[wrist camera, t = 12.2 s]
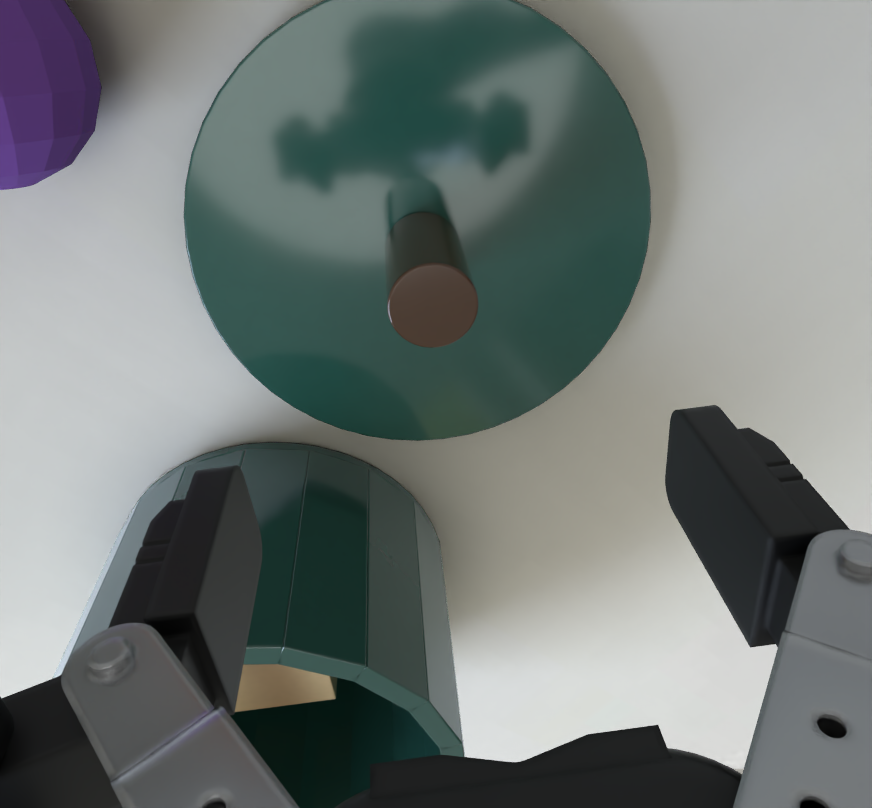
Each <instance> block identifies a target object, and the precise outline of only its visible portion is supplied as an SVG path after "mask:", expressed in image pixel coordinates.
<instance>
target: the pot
mask: <svg viewBox="0 0 872 808" xmlns="http://www.w3.org/2000/svg"><path fill="white" fill-rule="evenodd" d="M233 465H238V466H239V467H240V468H241V470H242V472H243V475H244V478H245V482H246V485H247V488H248V492H249V495H250V498H251V502H252V505H253V508H254V512H255V515H256V518H257V522H258V525H259V529H260V533H261V540H262V564H261V569H260V575H259V580H258V586H257V591H256V597H255V602H254V608H253V613H252V619H251V624H250V630H249V635H248V641H247V646H246V652H245V658H244V663H243V665H262V664H279V665H283V666H287V667H292V668H296V669H301V670H305V671H309V672H314V673H318V674H323V675H327V676H332V677H336V678H337V689H336V699H331V700H324V701H316V702H308V703H301V704H293V705H286V706H278V707H270V708H263V709H255V710H247V711H240V712H235V713H234V715H230V716H231V718H232V719H233V720H234V722H235V723H236V724H237V726H238V727H239V728H240V730H241V731H242V732H243V734H244V735H245V736H246V738H247V739H248V740H249V741H250V743H251V744H252V745H253V747H254V748H255V749H256V751H257V752H258V753H259V755H260V756H261V757H262V759H263V760H264V761H265V763H266V764H267V765H268V767H269V768H270V769H271V771H272V772H273V773H274V775H275V776H276V777H277V779H278V780H279V781H280V783H281V784H282V785H283V786H284V788H285V789H286V790H287V792H288V793H289V794H290V796H291V797H292V798H293V800H294V801H295V802H296V804H297V805H298V806H299V808H335V807H336V806H338V805H339V804H341V803H342V802H344V801H345V800H347V799H349V798H351V797H353V796H354V795H356V794H358V793H360V792H362V791H365V790H367V789H370V764H375V763H383V762H390V761H397V760H405V759H412V758H419V757H427V756H434V755H450V756H459V757H465V752H464V743H463V735H462V726H461V718H460V709H459V701H458V692H457V683H456V675H455V666H454V658H453V649H452V641H451V632H450V624H449V615H448V606H447V598H446V589H445V581H444V573H443V565H442V557H441V549H440V541H439V539H438V537H437V535H436V533H435V530H434V528H433V525H432V523H431V521H430V520H429V518H428V516H427V515H426V513H425V511H424V510H423V508H422V507H421V506H420V505H419V504H418V502H417V501H416V500H415V499H414V498H413V496H412V495H411V494H410V493H409V492H408V491H406V490H405V489H404V488H403V487H402V486H401V485H400V484H399V483H398V482H396V481H395V480H394V479H392V478H391V477H389V476H388V475H386V474H385V473H383V472H382V471H380V470H379V469H377V468H375V467H373V466H371V465H369V464H367V463H365V462H363V461H361V460H359V459H356V458H354V457H351V456H348V455H346V454H343V453H341V452H337V451H333V450H329V449H325V448H321V447H317V446H310V445H304V444H297V443H276V442H268V443H254V444H245V445H239V446H234V447H228V448H224V449H220V450H217V451H214V452H210V453H207V454H204V455H201V456H199V457H197V458H195V459H192V460H190V461H188V462H186V463H183V464H182V465H180V466H179V467H177V468H175V469H174V470H172V471H170V472H169V473H167V474H165V475H164V476H163V477H162V478H161V479H159V480H158V481H157V482H156V483H155V484H153V485H152V486H151V487H150V488H149V489H148V490H147V491H146V492H145V494H144V495H143V496H142V497H141V498H140V499H139V500H138V502H137V503H136V505H135V507H134V508H133V510H132V511H131V513H130V514H129V516H128V519H127V521H126V523H125V524H124V526H123V528H122V529H121V531H120V533H119V534H118V536H117V538H116V540H115V542H114V545H113V547H112V549H111V551H110V553H109V556H108V558H107V560H106V562H105V564H104V567H103V569H102V571H101V573H100V575H99V577H98V580H97V582H96V584H95V586H94V588H93V591H92V593H91V595H90V597H89V599H88V602H87V604H86V606H85V608H84V610H83V612H82V615H81V617H80V619H79V621H78V623H77V626H76V628H75V630H74V632H73V634H72V637H71V639H70V641H69V643H68V645H67V647H66V650H65V652H64V654H63V656H62V658H61V661H60V663H59V665H58V667H57V669H56V672H55V674H54V676H53V678H56V677H58V676H60V675H62V672H63V669H64V667H65V665H66V663H67V661H68V659H69V658H70V657H71V655H72V654H73V653H74V652H75V651H76V650H77V649H78V648H79V647H80V646H81V645H82V644H83V643H84V642H85V641H87V640H88V639H89V638H91V637H92V636H94V635H95V634H97V633H99V632H101V631H103V630H105V629H108V627H109V625H110V622H111V619H112V617H113V614H114V612H115V609H116V607H117V604H118V602H119V599H120V597H121V594H122V592H123V589H124V587H125V584H126V582H127V579H128V577H129V574H130V572H131V569H132V567H133V565H135V559H136V557H137V554H138V552H139V549H140V547H142V542H143V539H144V537H145V534H146V532H147V529H148V527H149V524H150V522H151V520H152V519H153V518H154V517H155V516H156V515H157V514H158V513H159V512H160V511H161V510H162V509H163V508H164V507H165V506H166V504H167V503H168V502H169V501H174V500H182V499H185V498H186V495H187V492H188V489H189V486H190V484H191V481H192V478H193V475H194V473H195V472H196V471H197V470H202V469H210V468H218V467H226V466H233ZM53 678H52V679H53ZM121 808H123V807H121Z"/></svg>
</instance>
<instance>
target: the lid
mask: <svg viewBox="0 0 872 808" xmlns="http://www.w3.org/2000/svg"><path fill="white" fill-rule="evenodd" d="M650 222H651V196H650V184H649V177H648V170H647V163H646V158H645V155H644V151H643V148H642V144H641V141H640V137H639V134H638V131H637V128H636V126H635V124H634V122H633V119H632V117H631V115H630V113H629V110H628V108H627V106H626V103H625V101H624V100H623V98H622V97H621V95H620V93H619V92H618V90H617V89H616V87H615V85H614V84H613V82H612V81H611V79H610V77H609V76H608V74H607V73H606V72H605V71H604V70H603V68H602V67H601V66H600V65H599V64H598V63H597V61H596V60H595V59H594V58H593V57H592V55H591V54H590V53H589V52H588V51H587V50H586V49H585V48H584V47H583V46H582V45H581V44H580V43H579V42H577V41H576V40H575V39H574V38H573V37H572V36H571V35H569V34H568V33H567V32H566V31H565V30H564V29H563V28H561V27H560V26H559V25H557V24H555V23H554V22H552V21H551V20H549V19H548V18H546V17H545V16H543V15H541V14H540V13H538V12H537V11H535V10H534V9H532V8H530V7H528V6H526V5H523V4H521V3H519V2H517V1H514V0H324V1H322V2H320V3H318V4H316V5H314V6H313V7H311V8H309V9H307V10H305V11H303V12H301V13H300V14H298V15H296V16H294V17H292V18H291V19H289V20H288V21H287V22H285V23H284V24H283V25H281V26H280V27H279V28H277V29H276V30H275V31H273V32H272V33H271V34H269V35H268V36H267V37H265V38H264V39H263V40H262V41H261V42H260V43H259V44H258V45H257V46H256V47H255V48H254V49H253V50H252V51H251V52H250V53H249V54H248V55H247V56H246V57H245V58H244V59H243V60H242V61H241V62H240V63H239V64H238V66H237V67H236V68H235V70H234V71H233V73H232V74H231V75H230V77H229V78H228V79H227V81H226V82H225V84H224V85H223V86H222V88H221V89H220V90H219V92H218V94H217V95H216V97H215V99H214V101H213V103H212V105H211V107H210V109H209V111H208V113H207V115H206V116H205V118H204V120H203V122H202V125H201V128H200V131H199V134H198V137H197V139H196V142H195V145H194V148H193V151H192V154H191V159H190V164H189V169H188V174H187V179H186V185H185V202H184V226H185V238H186V248H187V252H188V257H189V261H190V266H191V271H192V275H193V278H194V281H195V284H196V286H197V289H198V292H199V295H200V297H201V300H202V303H203V305H204V307H205V309H206V311H207V313H208V315H209V317H210V319H211V321H212V322H213V324H214V326H215V328H216V330H217V331H218V333H219V334H220V336H221V337H222V339H223V340H224V342H225V343H226V344H227V346H228V347H229V349H230V350H231V352H232V353H233V354H234V355H235V356H236V358H237V359H238V360H239V361H240V362H241V363H242V364H243V365H244V367H245V368H246V369H247V370H248V371H249V372H250V373H251V374H252V375H253V376H254V377H255V378H256V379H257V380H259V381H260V382H261V383H262V384H263V385H264V386H265V387H267V388H268V389H269V390H270V391H271V392H273V393H274V394H275V395H277V396H278V397H280V398H281V399H283V400H284V401H286V402H287V403H288V404H290V405H291V406H293V407H295V408H296V409H298V410H300V411H302V412H304V413H306V414H308V415H310V416H312V417H313V418H315V419H317V420H320V421H322V422H325V423H328V424H330V425H333V426H335V427H338V428H340V429H344V430H347V431H351V432H355V433H359V434H362V435H366V436H372V437H379V438H385V439H392V440H416V441H420V440H434V439H446V438H451V437H457V436H462V435H468V434H472V433H475V432H479V431H482V430H486V429H489V428H492V427H495V426H498V425H500V424H502V423H505V422H507V421H510V420H512V419H514V418H517V417H519V416H521V415H523V414H524V413H526V412H528V411H530V410H532V409H534V408H535V407H537V406H539V405H541V404H542V403H544V402H545V401H547V400H548V399H549V398H551V397H552V396H554V395H555V394H556V393H558V392H559V391H561V390H562V389H563V388H564V387H566V386H567V385H568V384H569V383H570V382H571V381H572V380H573V379H575V378H576V377H577V376H578V375H579V374H580V373H581V372H582V371H583V370H584V369H585V368H586V367H587V366H588V365H589V364H590V363H591V361H592V360H593V359H594V358H595V357H596V356H597V355H598V354H599V352H600V351H601V350H602V349H603V347H604V346H605V344H606V343H607V341H608V340H609V339H610V337H611V336H612V334H613V333H614V332H615V330H616V329H617V327H618V325H619V323H620V321H621V319H622V318H623V316H624V314H625V312H626V310H627V308H628V306H629V305H630V302H631V299H632V297H633V294H634V292H635V289H636V287H637V284H638V282H639V279H640V276H641V272H642V268H643V264H644V260H645V256H646V252H647V246H648V238H649V230H650Z"/></svg>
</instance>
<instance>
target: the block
mask: <svg viewBox="0 0 872 808" xmlns="http://www.w3.org/2000/svg"><path fill="white" fill-rule="evenodd" d="M336 689H337V678H336V677H332V676H327V675H323V674H318V673H314V672H309V671H305V670H301V669H296V668H292V667H287V666H283V665H279V664H262V665H243V669H242V674H241V680H240V685H239V691H238V696H237V702H236V707H235V712H240V711H247V710H255V709H263V708H270V707H278V706H286V705H293V704H301V703H308V702H316V701H324V700H331V699H336Z"/></svg>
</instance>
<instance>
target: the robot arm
mask: <svg viewBox="0 0 872 808" xmlns="http://www.w3.org/2000/svg"><path fill="white" fill-rule="evenodd" d="M665 483H666V492H667V497H668V500H669V503H670V506H671V509H672V511H673V512H674V514H675V516H676V518H677V519H678V521H679V523H680V525H681V526H682V528H683V530H684V532H685V533H686V535H687V537H688V539H689V541H690V542H691V544H692V546H693V548H694V549H695V551H696V553H697V555H698V556H699V558H700V560H701V562H702V563H703V565H704V567H705V569H706V570H707V572H708V574H709V576H710V577H711V579H712V581H713V583H714V584H715V586H716V588H717V590H718V591H719V593H720V595H721V597H722V598H723V600H724V602H725V604H726V605H727V607H728V609H729V611H730V612H731V614H732V616H733V618H734V619H735V621H736V623H737V625H738V626H739V628H740V630H741V632H742V633H743V635H744V637H745V639H746V641H747V642H748V644H749V646H750V647H756V646H764V645H771V644H776V645H777V647H778V650H777V653H776V657H775V660H774V664H773V668H772V671H771V675H770V678H769V682H768V685H767V689H766V692H765V696H764V699H763V703H762V707H761V710H760V714H759V717H758V721H757V724H756V728H755V731H754V735H753V739H752V742H751V746H750V749H749V753H748V756H747V760H746V763H745V767H744V770H743V774H740V773H738V772H737V771H735V770H734V769H732V768H730V767H728V766H726V765H723V764H721V763H719V762H717V761H715V760H712V759H709V758H706V757H704V756H701V755H698V754H695V753H690V752H686V751H682V750H677V749H669V748H667V747H666V744H665V741H664V739H663V736H662V734H661V731H660V729H659V726H658V725H654V726H647V727H639V728H632V729H625V730H617V731H610V732H603V733H595V734H588V735H585V736H583V737H581V738H578V739H576V740H573V741H571V742H568V743H566V744H564V745H561V746H559V747H556V748H554V749H551V750H549V751H547V752H544V753H542V754H539V755H537V756H535V757H532V758H530V759H527V760H525V761H521V762H503V761H494V760H485V759H476V758H467V757H459V756H450V755H434V756H427V757H419V758H412V759H405V760H397V761H390V762H383V763H375V764H370V789H367V790H365V791H362V792H360V793H358V794H356V795H354V796H353V797H351V798H349V799H347V800H345V801H344V802H342V803H341V804H339V805H338V806H336V807H335V808H872V534H869V533H865V532H860V531H855V530H850V529H849V528H848V527H847V526H846V524H845V523H844V522H843V521H842V520H841V519H840V518H839V516H838V515H837V514H836V513H835V512H834V511H833V509H832V508H831V507H830V506H829V505H828V504H827V503H826V501H825V500H824V499H823V498H822V497H821V496H820V495H819V493H818V492H817V491H816V490H815V489H814V488H813V487H812V485H811V484H810V483H809V482H808V481H807V480H806V479H803V475H802V474H801V473H800V472H799V470H798V469H797V468H796V467H795V466H794V465H793V464H790V460H789V459H788V458H787V457H786V456H785V454H784V453H783V452H782V451H781V450H780V449H779V448H778V446H777V445H776V444H775V443H774V442H773V441H771V440H769V439H767V438H766V437H764V436H762V435H760V434H759V433H757V432H755V431H754V430H752V429H750V428H744V429H737V428H736V427H735V426H734V425H733V423H732V422H731V421H730V420H729V418H728V417H727V416H726V415H725V413H724V412H723V411H722V410H721V409H720V408H719V407H718V406H716V405H712V406H704V407H696V408H688V409H681V410H675V411H674V412H673V413H672V415H671V420H670V429H669V441H668V452H667V464H666V475H665ZM261 564H262V540H261V533H260V529H259V525H258V522H257V518H256V515H255V512H254V508H253V505H252V502H251V498H250V495H249V492H248V488H247V485H246V482H245V478H244V475H243V472H242V470H241V468H240V467H239V466H238V465H233V466H226V467H218V468H210V469H202V470H197V471H196V472H195V473H194V475H193V478H192V481H191V484H190V486H189V489H188V492H187V495H186V498H185V499H182V500H174V501H169V502H168V503H167V504H166V506H165V507H164V508H163V509H162V510H161V511H160V512H159V513H158V514H157V515H156V516H155V517H154V518H153V519H152V520H151V522H150V524H149V527H148V529H147V532H146V534H145V537H144V539H143V542H142V547H140V549H139V552H138V554H137V557H136V559H135V565H133V567H132V569H131V572H130V574H129V577H128V579H127V582H126V584H125V587H124V589H123V592H122V594H121V597H120V599H119V602H118V604H117V607H116V609H115V612H114V614H113V617H112V619H111V622H110V625H109V627H108V629H105V630H103V631H101V632H99V633H97V634H95V635H94V636H92V637H91V638H89V639H88V640H87V641H85V642H84V643H83V644H82V645H81V646H80V647H79V648H78V649H77V650H76V651H75V652H74V653H73V654H72V655H71V657H70V658H69V659H68V661H67V663H66V665H65V667H64V669H63V672H62V675H60V676H58V677H56V678H53V679H51V680H49V681H46V682H43V683H41V684H38V685H36V686H33V687H30V688H28V689H25V690H23V691H20V692H18V693H15V694H12V695H10V696H7V697H5V698H2V699H1V697H0V808H121V807H123V808H299V806H298V805H297V804H296V802H295V801H294V800H293V798H292V797H291V796H290V794H289V793H288V792H287V790H286V789H285V788H284V786H283V785H282V784H281V783H280V781H279V780H278V779H277V777H276V776H275V775H274V773H273V772H272V771H271V769H270V768H269V767H268V765H267V764H266V763H265V761H264V760H263V759H262V757H261V756H260V755H259V753H258V752H257V751H256V749H255V748H254V747H253V745H252V744H251V743H250V741H249V740H248V739H247V738H246V736H245V735H244V734H243V732H242V731H241V730H240V728H239V727H238V726H237V724H236V723H235V722H234V720H233V719H232V718H231V716H230V715H234V713H235V707H236V702H237V696H238V691H239V685H240V680H241V674H242V669H243V663H244V658H245V652H246V646H247V641H248V635H249V630H250V624H251V619H252V613H253V608H254V602H255V597H256V591H257V586H258V580H259V575H260V569H261Z"/></svg>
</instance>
